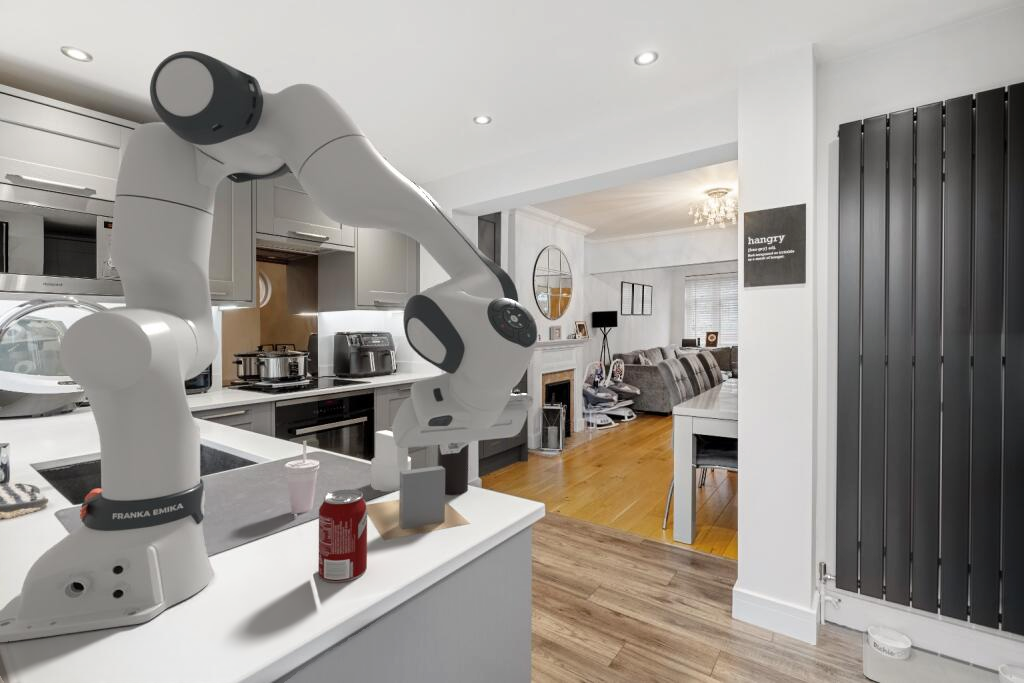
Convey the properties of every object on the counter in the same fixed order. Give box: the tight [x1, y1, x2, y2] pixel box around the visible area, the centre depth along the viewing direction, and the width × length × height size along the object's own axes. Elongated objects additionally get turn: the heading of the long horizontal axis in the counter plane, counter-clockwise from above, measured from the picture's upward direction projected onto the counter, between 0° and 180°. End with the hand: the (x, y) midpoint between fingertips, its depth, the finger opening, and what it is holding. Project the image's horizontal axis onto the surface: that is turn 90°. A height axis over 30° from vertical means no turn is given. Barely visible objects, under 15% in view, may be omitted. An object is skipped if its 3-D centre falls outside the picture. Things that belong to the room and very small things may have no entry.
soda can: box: [318, 488, 368, 584], centre depth 73 cm, size 7×7×12 cm
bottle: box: [437, 443, 470, 496], centre depth 110 cm, size 7×7×20 cm
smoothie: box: [284, 440, 320, 514], centre depth 97 cm, size 6×6×14 cm
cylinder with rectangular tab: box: [370, 429, 412, 492], centre depth 114 cm, size 9×9×12 cm
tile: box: [398, 465, 446, 530], centre depth 91 cm, size 8×2×10 cm, turn 118°
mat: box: [367, 499, 471, 541], centre depth 95 cm, size 16×18×1 cm
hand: (449, 450), depth 79 cm, fingers closed
